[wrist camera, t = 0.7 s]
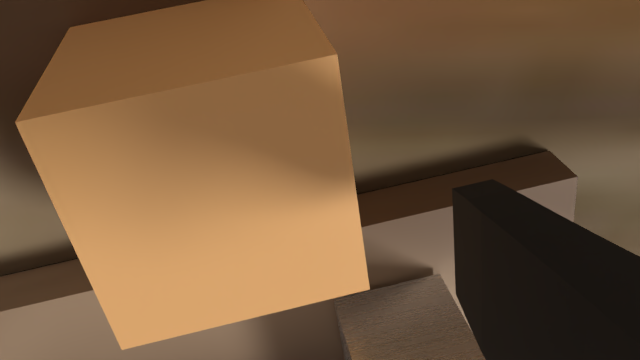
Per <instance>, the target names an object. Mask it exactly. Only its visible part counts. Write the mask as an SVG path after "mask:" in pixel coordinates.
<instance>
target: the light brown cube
mask: <svg viewBox="0 0 640 360" xmlns="http://www.w3.org/2000/svg"><path fill="white" fill-rule="evenodd" d="M15 124H16V126H17V128H18V130H19V132H20V134H21V137H22V139H23V141H24V143H25V145H26V147H27V149H28V151H29V154H30V156H31V158H32V160H33V162H34V164H35V166H36V168H37V171H38V173H39V175H40V177H41V179H42V181H43V183H44V186H45V188H46V190H47V192H48V194H49V196H50V198H51V200H52V203H53V205H54V207H55V209H56V211H57V213H58V215H59V217H60V220H61V222H62V224H63V226H64V228H65V230H66V232H67V235H68V237H69V239H70V241H71V243H72V245H73V247H74V249H75V252H76V254H77V256H78V258H79V260H80V262H81V264H82V266H83V269H84V271H85V273H86V275H87V277H88V279H89V281H90V284H91V286H92V288H93V290H94V292H95V294H96V296H97V298H98V301H99V303H100V305H101V307H102V309H103V311H104V313H105V315H106V318H107V320H108V322H109V324H110V326H111V328H112V330H113V333H114V335H115V337H116V339H117V341H118V343H119V345H120V347H121V350H124V349H128V348H132V347H136V346H141V345H145V344H149V343H153V342H157V341H161V340H165V339H169V338H173V337H177V336H181V335H186V334H190V333H194V332H198V331H202V330H206V329H210V328H214V327H218V326H222V325H226V324H231V323H235V322H239V321H243V320H247V319H251V318H255V317H259V316H263V315H267V314H271V313H276V312H280V311H284V310H288V309H292V308H296V307H300V306H304V305H308V304H312V303H316V302H321V301H325V300H329V299H333V298H337V297H341V296H345V295H349V294H353V293H357V292H361V291H366V290H370V286H369V279H368V272H367V265H366V257H365V250H364V243H363V236H362V229H361V222H360V214H359V207H358V200H357V193H356V186H355V178H354V171H353V164H352V157H351V150H350V143H349V135H348V128H347V121H346V114H345V107H344V99H343V92H342V85H341V78H340V71H339V64H338V56H337V53H336V52H335V50H334V48H333V47H332V45H331V44H330V42H329V41H328V39H327V37H326V36H325V34H324V33H323V31H322V30H321V28H320V26H319V25H318V23H317V22H316V20H315V19H314V17H313V15H312V14H311V12H310V11H309V9H308V8H307V6H306V4H305V3H304V1H303V0H204V1H199V2H194V3H189V4H184V5H179V6H174V7H169V8H164V9H159V10H154V11H149V12H144V13H139V14H134V15H129V16H124V17H119V18H114V19H109V20H104V21H99V22H94V23H89V24H84V25H79V26H74V27H70V28H69V29H68V31H67V33H66V35H65V36H64V38H63V40H62V42H61V43H60V45H59V47H58V48H57V50H56V52H55V54H54V55H53V57H52V59H51V61H50V62H49V64H48V66H47V68H46V69H45V71H44V73H43V74H42V76H41V78H40V80H39V81H38V83H37V85H36V87H35V88H34V90H33V92H32V93H31V95H30V97H29V99H28V100H27V102H26V104H25V106H24V107H23V109H22V111H21V113H20V114H19V116H18V118H17V119H16V121H15Z"/></svg>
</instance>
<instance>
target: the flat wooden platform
mask: <svg viewBox="0 0 640 360" xmlns="http://www.w3.org/2000/svg"><path fill="white" fill-rule="evenodd" d="M491 179H493V180H495V181H497V182H499V183H501V184H503V185H505V186H507V187H509V188H511V189H513V190H515V191H517V192H519V193H520V194H522V195H524V196H526V197H528V198H530V199H532V200H533V201H535V202H537V203H539V204H541V205H542V206H544V207H546V208H548V209H550V210H552V211H553V212H555V213H557V214H559V215H561V216H563V217H564V218H566V219H568V220H570V221H572V222H574V211H575V201H576V190H577V180H578V176H576V175H575V174H574V173H573V172H572V171H571V170H570V169H569V168H568V167H567V166H565V165H564V164H563V163H562V162H561V161H560V160H559V159H558V158H557V157H556V156H554V155H553V154H552V153H551V152H550V151H546V152H542V153H537V154H533V155H529V156H524V157H520V158H515V159H511V160H507V161H502V162H498V163H494V164H489V165H485V166H481V167H476V168H472V169H468V170H463V171H459V172H454V173H450V174H446V175H441V176H437V177H433V178H428V179H424V180H420V181H415V182H411V183H406V184H402V185H398V186H393V187H389V188H385V189H380V190H376V191H372V192H367V193H363V194H359V195H357V200H358V207H359V214H360V222H361V229H362V236H363V243H364V250H365V257H366V265H367V272H368V279H369V286H370V290H373V289H377V288H381V287H385V286H389V285H394V284H398V283H402V282H406V281H410V280H414V279H418V278H422V277H426V276H431V275H435V274H439V273H440V275H441V277H442V279H443V281H444V282H445V284H446V286H447V288H448V290H449V291H450V293H451V295H452V297H453V299H454V300H455V302H456V304H457V306H458V308H459V309H460V311H461V313H462V315H463V317H464V318H465V320H466V322H467V324H468V326H469V323H468V321H467V319H466V316H465V314H464V312H463V310H462V307H461V305H460V303H459V300H458V298H457V296H456V288H455V260H454V231H453V202H452V188H456V187H461V186H465V185H469V184H473V183H478V182H482V181H486V180H491ZM366 291H369V290H366ZM361 292H365V291H361ZM361 292H357V293H361ZM353 294H356V293H353ZM349 295H352V294H349ZM345 296H348V295H345ZM341 297H344V296H341ZM337 298H340V297H337ZM334 299H336V298H333V299H329V300H325V301H321V302H316V303H312V304H308V305H304V306H300V307H296V308H292V309H288V310H284V311H280V312H276V313H271V314H267V315H263V316H259V317H255V318H251V319H247V320H243V321H239V322H235V323H231V324H226V325H222V326H218V327H214V328H210V329H206V330H202V331H198V332H194V333H190V334H186V335H181V336H177V337H173V338H169V339H165V340H161V341H157V342H153V343H149V344H145V345H141V346H136V347H132V348H128V349H124V350H121V347H120V345H119V343H118V341H117V339H116V337H115V335H114V333H113V330H112V328H111V326H110V324H109V322H108V320H107V318H106V315H105V313H104V311H103V309H102V307H101V305H100V303H99V301H98V298H97V296H96V294H95V292H94V290H93V288H92V286H91V284H90V281H89V279H88V277H87V275H86V273H85V271H84V269H83V266H82V264H81V262H80V260H79V259H75V260H71V261H66V262H62V263H58V264H53V265H49V266H45V267H40V268H36V269H32V270H27V271H23V272H18V273H14V274H10V275H5V276H1V277H0V360H345V358H344V353H343V347H342V342H341V337H340V331H339V326H338V320H337V315H336V309H335V304H334ZM469 328H470V326H469ZM470 329H471V328H470ZM471 331H472V330H471ZM472 333H473V332H472Z"/></svg>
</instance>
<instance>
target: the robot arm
mask: <svg viewBox="0 0 640 360" xmlns="http://www.w3.org/2000/svg"><path fill="white" fill-rule="evenodd" d="M452 202H453V231H454V260H455V288H456V296H457V298H458V300H459V303H460V305H461V307H462V310H463V312H464V314H465V316H466V319H467V321H468V323H469V326H470V328H471V330H472V332H473V335H474V337H475V339H476V341H477V343H478V346H479V348H480V350H481V352H482V354H483V356H484V357H485V359H486V360H640V257H639V256H637V255H635V254H633V253H631V252H629V251H627V250H625V249H623V248H621V247H619V246H618V245H616V244H614V243H612V242H610V241H608V240H606V239H604V238H602V237H600V236H598V235H596V234H594V233H592V232H591V231H589V230H587V229H585V228H583V227H581V226H579V225H577V224H576V223H574V222H572V221H570V220H568V219H566V218H564V217H563V216H561V215H559V214H557V213H555V212H553V211H552V210H550V209H548V208H546V207H544V206H542V205H541V204H539V203H537V202H535V201H533V200H532V199H530V198H528V197H526V196H524V195H522V194H520V193H519V192H517V191H515V190H513V189H511V188H509V187H507V186H505V185H503V184H501V183H499V182H497V181H495V180H493V179H491V180H486V181H482V182H478V183H473V184H469V185H465V186H461V187H456V188H452Z"/></svg>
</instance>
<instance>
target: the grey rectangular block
mask: <svg viewBox="0 0 640 360" xmlns="http://www.w3.org/2000/svg"><path fill="white" fill-rule="evenodd" d="M334 304H335V309H336V315H337V320H338V326H339V331H340V337H341V342H342V347H343V353H344V358H345V360H486V359H485V357H484V356H483V354H482V352H481V350H480V348H479V346H478V343H477V341H476V339H475V337H474V335H473V333H472V331H471V329H470V328H469V326H468V324H467V322H466V320H465V318H464V317H463V315H462V313H461V311H460V309H459V308H458V306H457V304H456V302H455V300H454V299H453V297H452V295H451V293H450V291H449V290H448V288H447V286H446V284H445V282H444V281H443V279H442V277H441V275H440V273H439V274H435V275H431V276H426V277H422V278H418V279H414V280H410V281H406V282H402V283H398V284H394V285H389V286H385V287H381V288H377V289H373V290H369V291H365V292H361V293H356V294H352V295H348V296H344V297H340V298H336V299H334Z"/></svg>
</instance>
